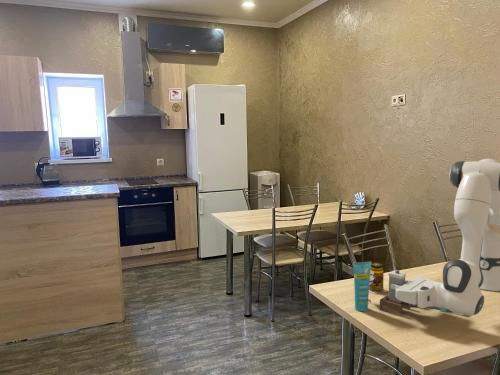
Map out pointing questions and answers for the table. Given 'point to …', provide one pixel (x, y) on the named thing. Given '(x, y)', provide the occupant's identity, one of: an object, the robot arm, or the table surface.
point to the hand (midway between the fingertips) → (394, 283)
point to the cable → (436, 308)
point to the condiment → (377, 278)
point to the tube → (361, 284)
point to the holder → (392, 306)
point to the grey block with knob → (397, 279)
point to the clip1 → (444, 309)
